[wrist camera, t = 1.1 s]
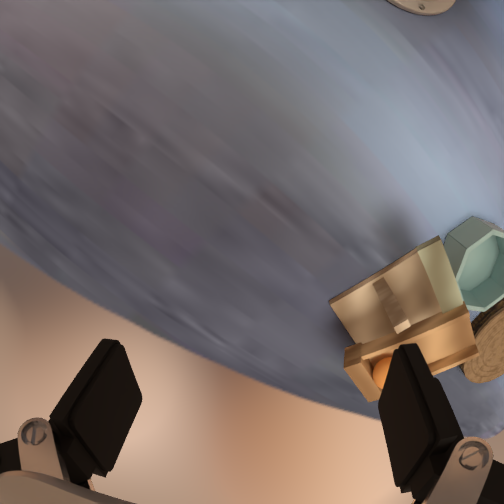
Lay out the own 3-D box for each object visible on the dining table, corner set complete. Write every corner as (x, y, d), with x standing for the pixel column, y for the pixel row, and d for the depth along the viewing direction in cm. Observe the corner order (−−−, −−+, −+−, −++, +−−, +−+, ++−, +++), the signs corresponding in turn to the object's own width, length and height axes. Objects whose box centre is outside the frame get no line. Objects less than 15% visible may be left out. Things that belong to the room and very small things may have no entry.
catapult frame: (418, 246, 35) (454, 285, 25) (445, 313, 38) (475, 357, 29) (328, 300, 38) (340, 352, 29) (367, 358, 42) (382, 410, 32)
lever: (439, 233, 24) (449, 250, 22) (475, 344, 28) (481, 364, 26) (308, 295, 31) (305, 316, 28) (371, 384, 35) (370, 405, 32)
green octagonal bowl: (488, 204, 31) (510, 216, 27) (504, 265, 34) (523, 281, 30) (428, 246, 34) (446, 263, 30) (451, 304, 37) (466, 324, 33)
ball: (399, 346, 30) (398, 373, 27) (408, 365, 31) (408, 391, 28) (368, 355, 32) (366, 381, 29) (380, 373, 33) (378, 398, 30)
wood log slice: (513, 360, 41) (520, 369, 38) (447, 380, 43) (453, 392, 40) (537, 286, 35) (546, 295, 32) (468, 303, 37) (477, 314, 35)
